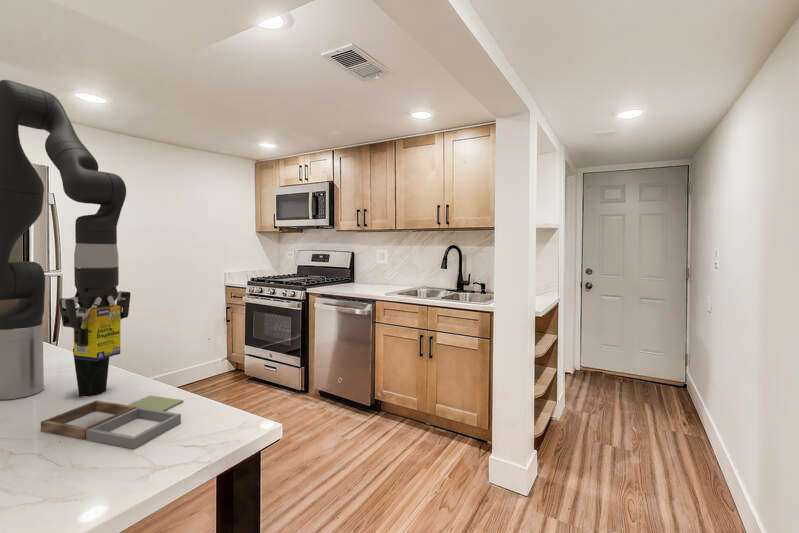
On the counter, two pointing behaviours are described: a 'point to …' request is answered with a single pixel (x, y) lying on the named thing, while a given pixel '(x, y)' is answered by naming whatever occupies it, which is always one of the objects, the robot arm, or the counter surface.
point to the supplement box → (100, 334)
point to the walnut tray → (57, 422)
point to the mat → (156, 403)
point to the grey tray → (132, 442)
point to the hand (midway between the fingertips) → (97, 342)
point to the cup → (91, 376)
